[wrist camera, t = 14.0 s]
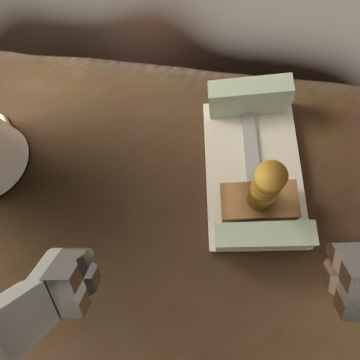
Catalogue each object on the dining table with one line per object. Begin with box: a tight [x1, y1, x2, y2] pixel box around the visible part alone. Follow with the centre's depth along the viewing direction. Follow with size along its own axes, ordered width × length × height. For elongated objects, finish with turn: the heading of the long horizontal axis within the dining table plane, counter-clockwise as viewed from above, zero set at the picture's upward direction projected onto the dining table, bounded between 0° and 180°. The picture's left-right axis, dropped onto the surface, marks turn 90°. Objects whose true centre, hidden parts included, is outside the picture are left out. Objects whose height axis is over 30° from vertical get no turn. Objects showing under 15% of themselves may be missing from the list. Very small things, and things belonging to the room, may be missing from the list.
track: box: [203, 73, 319, 252], centre depth 41 cm, size 14×24×8 cm, turn 1°
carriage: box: [220, 160, 302, 223], centre depth 34 cm, size 10×5×13 cm, turn 91°
